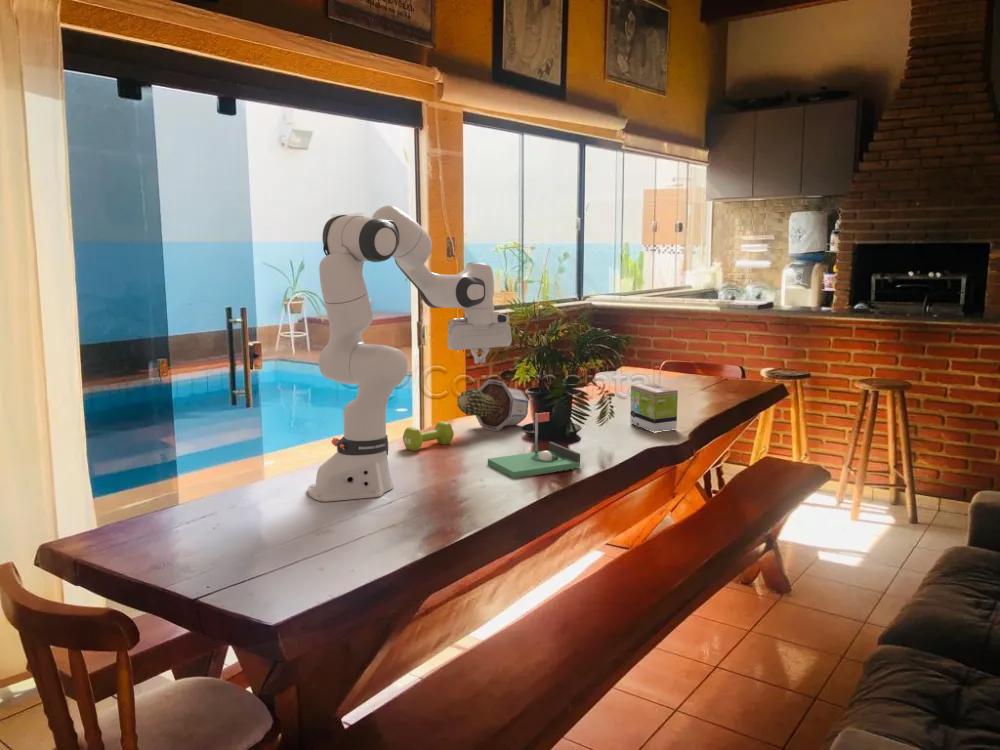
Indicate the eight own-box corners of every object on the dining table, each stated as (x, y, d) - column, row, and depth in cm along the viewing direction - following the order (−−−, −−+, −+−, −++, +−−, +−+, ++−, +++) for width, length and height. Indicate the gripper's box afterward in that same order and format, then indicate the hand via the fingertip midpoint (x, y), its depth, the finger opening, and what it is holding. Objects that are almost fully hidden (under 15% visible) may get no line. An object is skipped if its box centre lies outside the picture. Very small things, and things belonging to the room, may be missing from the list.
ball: (550, 467, 237) (540, 462, 235) (543, 464, 241) (534, 458, 239) (557, 455, 238) (547, 450, 236) (550, 452, 241) (540, 446, 239)
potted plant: (499, 380, 299) (446, 371, 275) (538, 388, 288) (487, 379, 264) (490, 427, 299) (437, 421, 275) (529, 436, 288) (477, 431, 264)
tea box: (629, 425, 290) (629, 384, 288) (652, 422, 294) (653, 382, 292) (653, 434, 276) (655, 391, 274) (677, 431, 281) (679, 389, 278)
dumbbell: (414, 453, 253) (414, 431, 251) (400, 448, 258) (399, 426, 257) (456, 444, 263) (455, 423, 262) (441, 440, 269) (441, 419, 268)
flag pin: (535, 459, 245) (536, 413, 242) (534, 458, 245) (534, 413, 243) (549, 457, 247) (549, 412, 245) (548, 456, 248) (548, 411, 245)
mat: (513, 478, 225) (513, 463, 224) (487, 464, 239) (487, 450, 238) (580, 468, 235) (580, 453, 234) (551, 455, 249) (551, 441, 248)
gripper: (452, 319, 233) (452, 367, 235) (514, 316, 242) (514, 362, 245) (443, 318, 239) (444, 364, 241) (504, 314, 248) (504, 359, 250)
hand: (479, 363), depth 243 cm, fingers closed
